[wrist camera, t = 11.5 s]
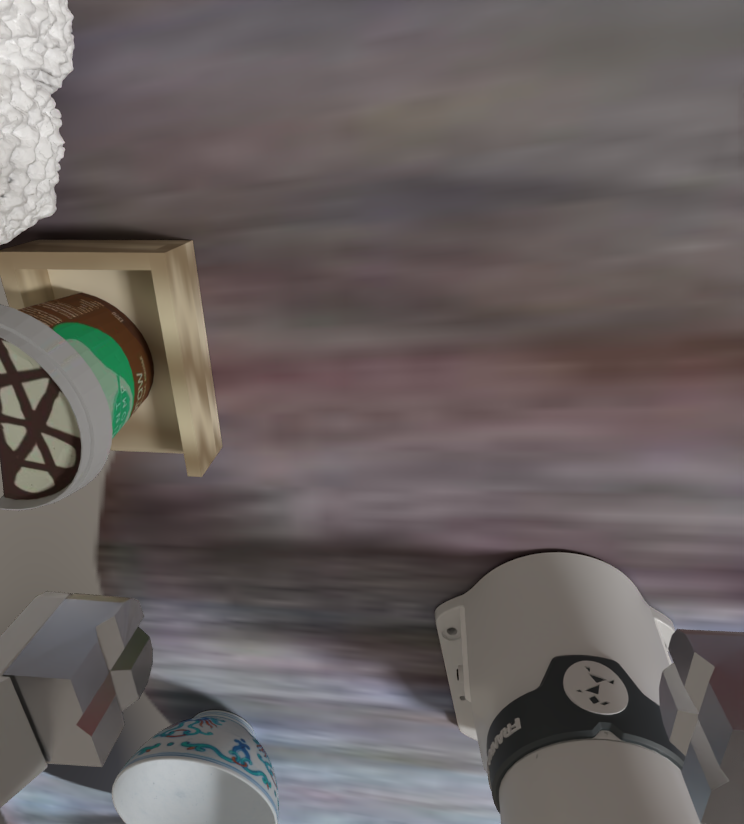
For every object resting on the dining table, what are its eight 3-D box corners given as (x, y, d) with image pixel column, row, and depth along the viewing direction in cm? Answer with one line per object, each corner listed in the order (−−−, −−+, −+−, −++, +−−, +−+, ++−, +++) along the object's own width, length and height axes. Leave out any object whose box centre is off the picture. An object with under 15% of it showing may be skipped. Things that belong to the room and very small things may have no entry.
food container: (167, 452, 43) (95, 538, 34) (86, 434, 43) (-8, 515, 34) (174, 290, 37) (90, 341, 28) (81, 269, 37) (-33, 314, 28)
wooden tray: (222, 446, 43) (201, 476, 40) (89, 441, 44) (57, 470, 41) (192, 240, 37) (164, 252, 33) (37, 239, 38) (-7, 251, 34)
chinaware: (303, 696, 55) (283, 778, 48) (290, 790, 61) (271, 874, 54) (148, 666, 55) (106, 743, 48) (152, 763, 62) (115, 843, 55)
